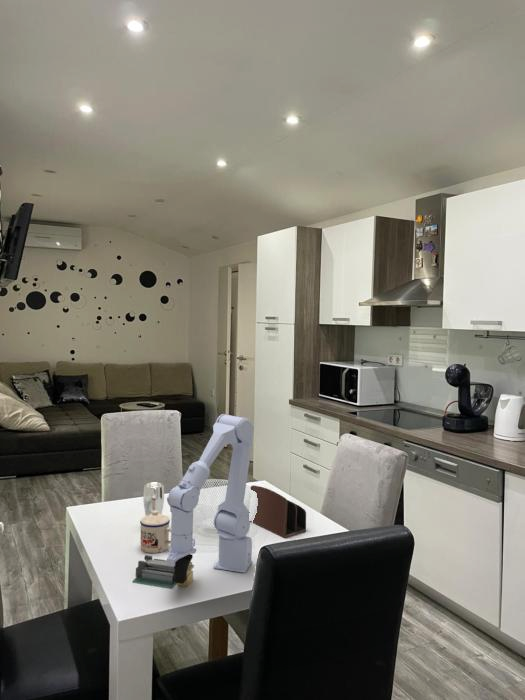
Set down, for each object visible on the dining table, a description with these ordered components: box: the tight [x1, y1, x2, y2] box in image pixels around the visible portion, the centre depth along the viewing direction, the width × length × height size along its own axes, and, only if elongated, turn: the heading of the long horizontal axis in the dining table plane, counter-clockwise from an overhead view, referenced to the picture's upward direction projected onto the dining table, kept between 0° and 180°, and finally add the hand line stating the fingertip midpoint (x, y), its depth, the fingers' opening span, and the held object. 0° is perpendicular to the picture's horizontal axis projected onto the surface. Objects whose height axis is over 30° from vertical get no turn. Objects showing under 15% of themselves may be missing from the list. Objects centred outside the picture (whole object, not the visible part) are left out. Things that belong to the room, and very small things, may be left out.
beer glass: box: [142, 481, 165, 516], centre depth 190 cm, size 7×7×15 cm
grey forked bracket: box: [135, 554, 153, 578], centre depth 156 cm, size 3×5×4 cm, turn 165°
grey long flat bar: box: [143, 558, 195, 571], centre depth 154 cm, size 15×2×1 cm, turn 75°
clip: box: [176, 561, 194, 587], centre depth 152 cm, size 3×5×5 cm, turn 165°
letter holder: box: [250, 485, 307, 539], centre depth 194 cm, size 10×20×14 cm, turn 39°
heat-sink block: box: [132, 558, 177, 589], centre depth 155 cm, size 12×11×3 cm
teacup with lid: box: [139, 510, 171, 554], centre depth 173 cm, size 12×9×12 cm
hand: (180, 581), depth 149 cm, fingers closed
